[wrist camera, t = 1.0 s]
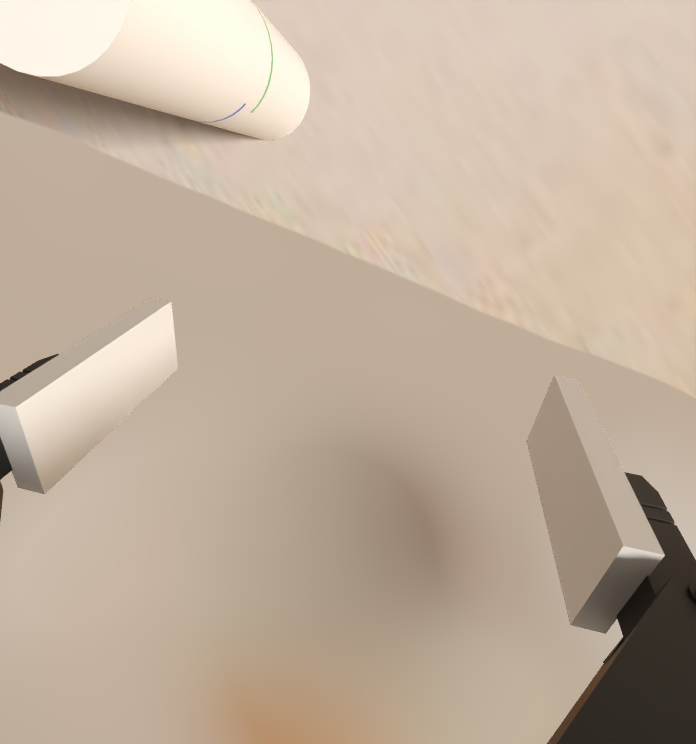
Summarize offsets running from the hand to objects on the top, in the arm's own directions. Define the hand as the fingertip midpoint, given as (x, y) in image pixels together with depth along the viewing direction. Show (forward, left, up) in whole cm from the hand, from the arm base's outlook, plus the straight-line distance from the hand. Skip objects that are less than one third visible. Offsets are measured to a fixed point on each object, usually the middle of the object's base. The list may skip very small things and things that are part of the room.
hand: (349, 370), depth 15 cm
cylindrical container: (-15, -6, -27) cm, 31 cm away
